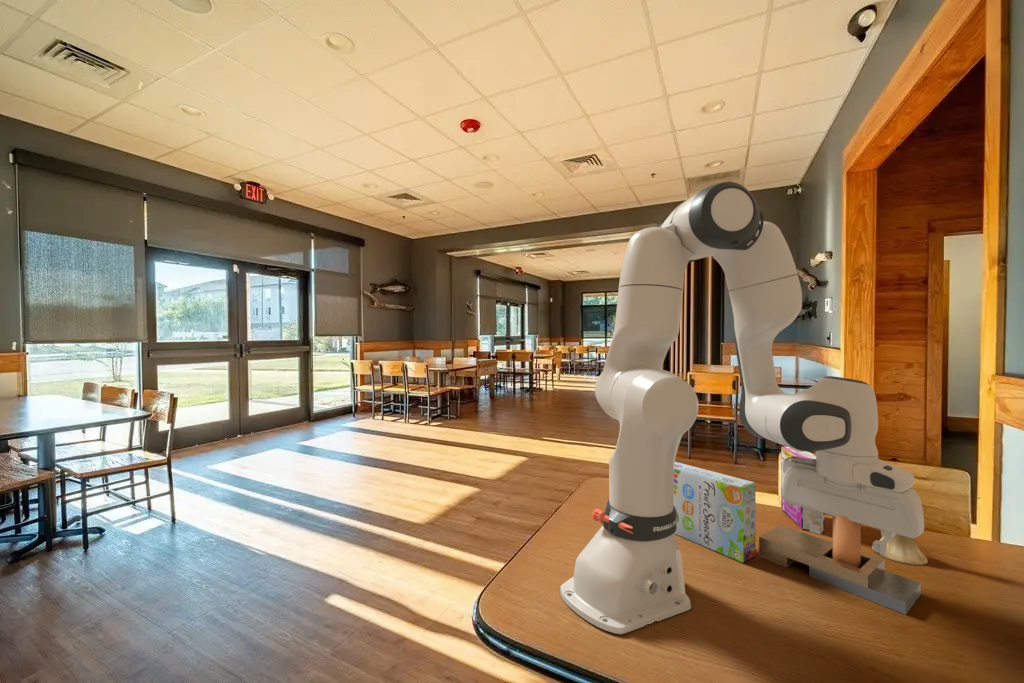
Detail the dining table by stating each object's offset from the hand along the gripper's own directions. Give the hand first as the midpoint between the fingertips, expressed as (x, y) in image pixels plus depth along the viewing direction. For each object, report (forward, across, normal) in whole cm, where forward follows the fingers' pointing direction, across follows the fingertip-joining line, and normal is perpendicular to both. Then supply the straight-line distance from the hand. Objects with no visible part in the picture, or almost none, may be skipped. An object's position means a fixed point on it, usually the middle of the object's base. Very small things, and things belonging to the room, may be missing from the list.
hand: (846, 542), depth 77 cm
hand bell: (+7, +3, +19) cm, 20 cm away
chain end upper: (+7, -4, 0) cm, 8 cm away
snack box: (+7, -24, -7) cm, 26 cm away
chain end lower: (+7, +2, 0) cm, 7 cm away
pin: (+7, 0, 0) cm, 7 cm away
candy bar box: (+7, -15, +21) cm, 27 cm away
